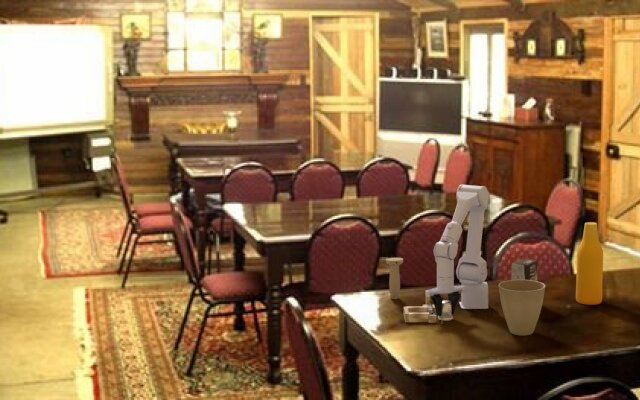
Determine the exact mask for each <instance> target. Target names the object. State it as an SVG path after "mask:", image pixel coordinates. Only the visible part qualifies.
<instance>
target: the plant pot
mask: <svg viewBox="0 0 640 400" xmlns="http://www.w3.org/2000/svg"><path fill="white" fill-rule="evenodd" d="M497 286H498V291H499V298H500V304H501V308H502V311H503V315H504V318H505V321H506V325H507V327H508V330H509V333H510V334H511V335H512V334H513V335H516V336H529V335H532V334H533V333H534V331H535V328H536V326H537V324H538V321H539V317H540V314H541V310H542V307H543V304H544V303H543V302H544V298H545V297H544V296H545V292H546V290H545V289H546V284H545V283H543V282H540V281H538V280H537V281H532V280H511V279H510V280H509V279H508V280H505V281H501V282H499V283H498V285H497Z"/></svg>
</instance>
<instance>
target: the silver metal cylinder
mask: <svg viewBox="0 0 640 400" xmlns="http://www.w3.org/2000/svg"><path fill="white" fill-rule="evenodd" d="M437 320H438V321H440V320H441V321H442V322H450V321H453V320H454V317H453V314H452V302H451V301H449V299H447V300H445V299H443V301H442V314H441V316H438V315H437ZM441 321H440V322H441Z"/></svg>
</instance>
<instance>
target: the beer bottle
mask: <svg viewBox="0 0 640 400" xmlns="http://www.w3.org/2000/svg"><path fill="white" fill-rule="evenodd" d="M603 273H604V251H603V247H602V245H601V243H600V240H599V232H598V223H597V222H593V221H592V222H591V221H589V222H585V223H584V228H583V234H582V239H581V242H580V244H579V246H578V249H577V252H576V277H575V279H576V282H575V284H576V285H575V301H576V302H577V303H578V304H581V305H588V306H595V305H599V304H601V303H602V301H603V279H604V276H603Z"/></svg>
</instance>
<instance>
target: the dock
mask: <svg viewBox="0 0 640 400" xmlns="http://www.w3.org/2000/svg"><path fill="white" fill-rule="evenodd" d="M431 307H432V313H433V314H429V313H428V311H427V306H426V303H425V304H422V306H421V305H420V306H416V305H415V306H403V318H404V322H405V323H428V324H429V323H432V324H434V323H437V314H436V309H435V306H434V303H433V304H432V303H431Z"/></svg>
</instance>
